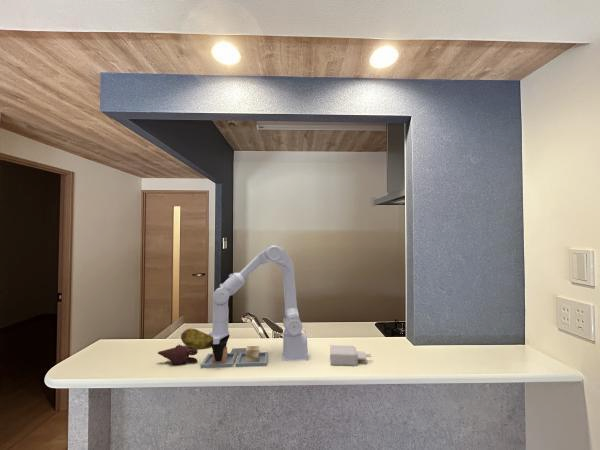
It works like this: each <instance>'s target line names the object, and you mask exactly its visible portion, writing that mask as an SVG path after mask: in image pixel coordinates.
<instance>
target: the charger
mask: <svg viewBox="0 0 600 450" xmlns="http://www.w3.org/2000/svg"><path fill="white" fill-rule="evenodd" d="M329 347H330V348H329V353H330V354H329V358H330V359H329V360H330V366H351V367H353V366H354V367H355V366H357V365H358V363H359V362H358V361H366V360H367V358H372V354H371V353H370V354H369V353H366V352H365V351H359V350H358V351H357V348H356V347H355V346H354V345H336V344H335V345H334V344H333V345H332V344H331V345H329Z"/></svg>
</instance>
